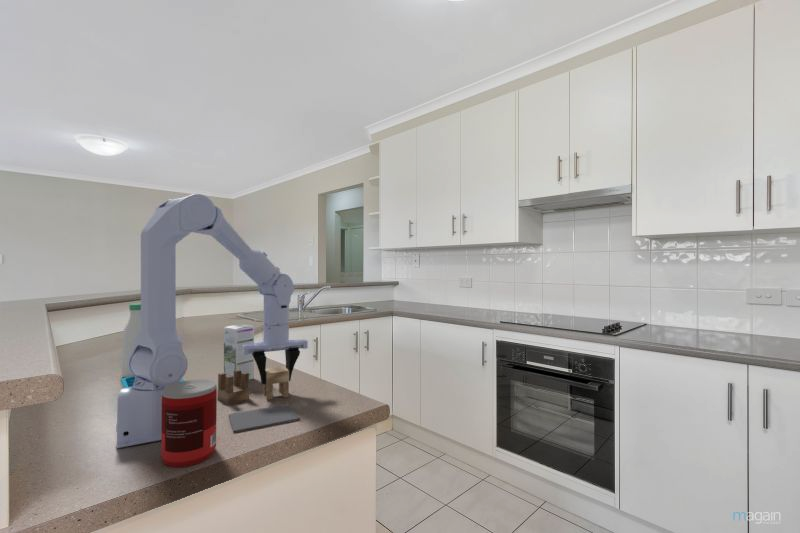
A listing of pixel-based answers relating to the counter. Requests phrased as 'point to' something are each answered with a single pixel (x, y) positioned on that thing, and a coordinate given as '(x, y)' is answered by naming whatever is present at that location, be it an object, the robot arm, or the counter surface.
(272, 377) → the oak stool
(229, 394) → the upturned walnut stool
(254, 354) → the robot arm
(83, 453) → the counter surface
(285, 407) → the mat
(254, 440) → the counter surface
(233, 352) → the syrup box
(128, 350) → the milk bottle
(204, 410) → the canned food
